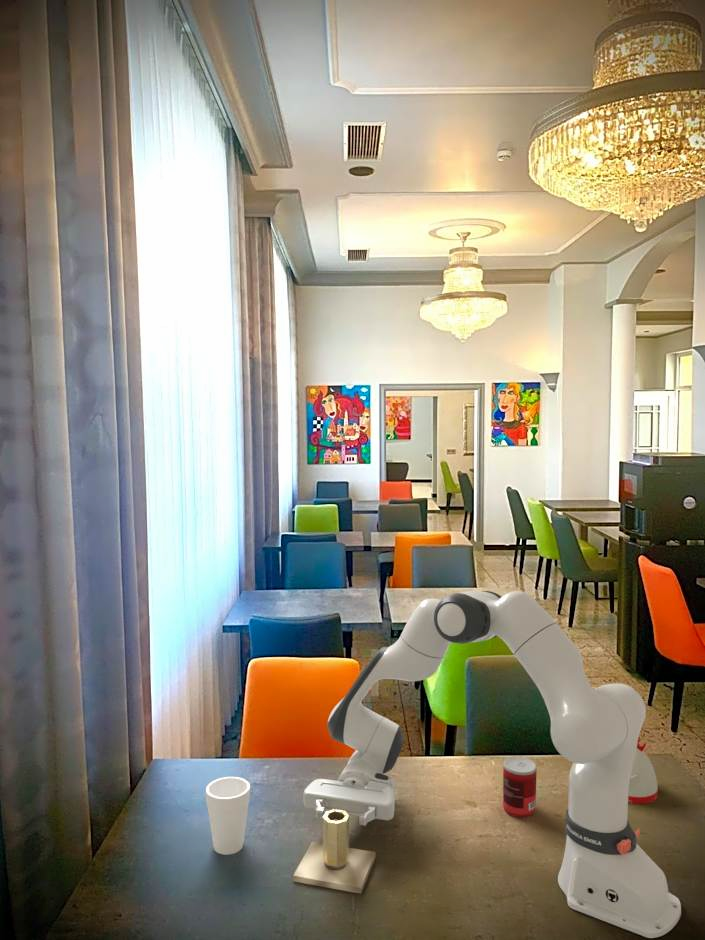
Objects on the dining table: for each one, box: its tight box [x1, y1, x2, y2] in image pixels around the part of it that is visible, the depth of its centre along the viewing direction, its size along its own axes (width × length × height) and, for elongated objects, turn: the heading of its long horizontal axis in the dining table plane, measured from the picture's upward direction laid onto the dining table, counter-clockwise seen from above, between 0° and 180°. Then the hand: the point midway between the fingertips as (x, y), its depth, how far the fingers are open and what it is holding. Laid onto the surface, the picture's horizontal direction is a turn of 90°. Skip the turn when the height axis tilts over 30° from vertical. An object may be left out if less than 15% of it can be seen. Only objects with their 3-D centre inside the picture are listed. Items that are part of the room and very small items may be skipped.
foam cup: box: [205, 776, 251, 856], centre depth 152 cm, size 10×9×13 cm
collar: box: [322, 809, 350, 867], centre depth 144 cm, size 5×5×9 cm
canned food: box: [502, 756, 538, 819], centre depth 167 cm, size 8×8×11 cm
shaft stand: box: [292, 819, 376, 895], centre depth 144 cm, size 14×12×10 cm
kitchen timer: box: [628, 736, 659, 804], centre depth 177 cm, size 14×14×15 cm
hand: (340, 818), depth 148 cm, fingers open, 8 cm apart
